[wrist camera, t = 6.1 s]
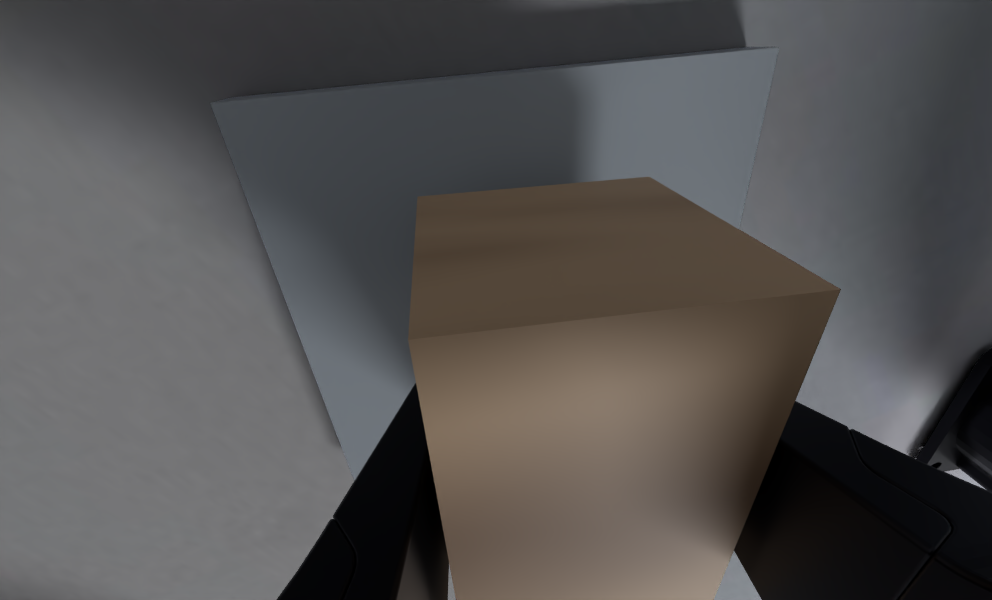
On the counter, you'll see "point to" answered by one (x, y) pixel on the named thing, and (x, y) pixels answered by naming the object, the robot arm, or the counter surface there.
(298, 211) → the base plate
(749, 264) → the walnut brick
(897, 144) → the counter surface
